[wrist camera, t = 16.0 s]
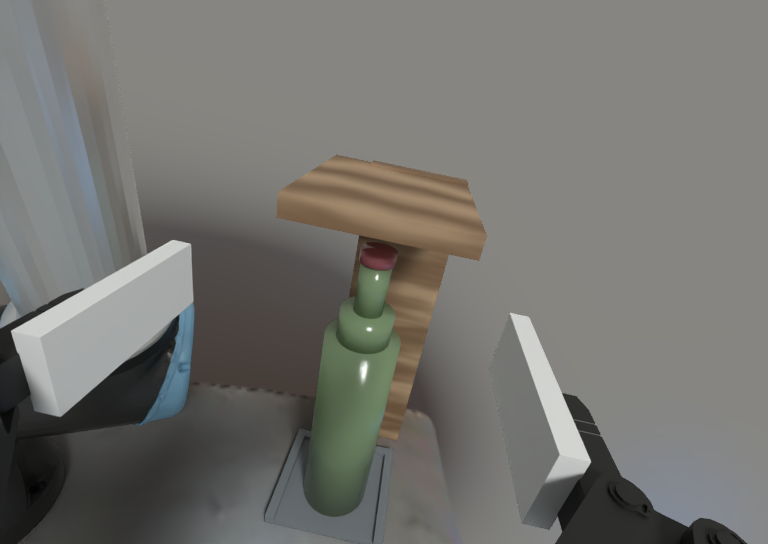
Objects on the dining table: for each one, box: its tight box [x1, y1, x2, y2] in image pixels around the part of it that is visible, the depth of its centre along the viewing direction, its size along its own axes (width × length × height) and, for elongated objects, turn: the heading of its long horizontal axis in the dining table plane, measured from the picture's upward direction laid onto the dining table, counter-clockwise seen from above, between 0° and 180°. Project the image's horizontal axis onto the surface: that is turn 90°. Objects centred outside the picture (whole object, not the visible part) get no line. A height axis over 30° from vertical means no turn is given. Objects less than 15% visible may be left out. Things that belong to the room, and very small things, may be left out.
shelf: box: [277, 155, 487, 440], centre depth 41 cm, size 17×14×37 cm
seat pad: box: [264, 428, 393, 544], centre depth 47 cm, size 12×13×1 cm
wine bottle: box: [304, 242, 401, 517], centre depth 40 cm, size 7×7×31 cm
